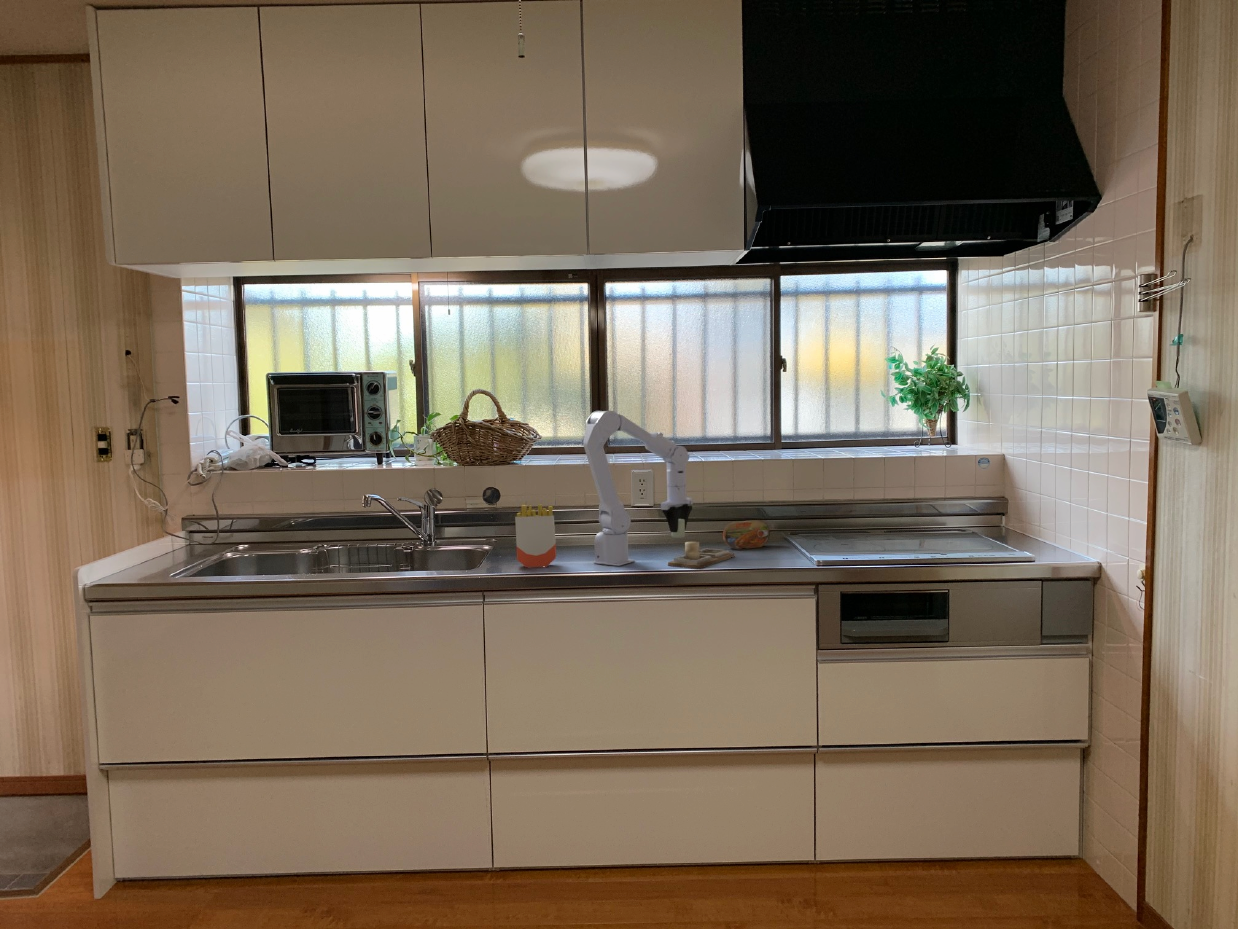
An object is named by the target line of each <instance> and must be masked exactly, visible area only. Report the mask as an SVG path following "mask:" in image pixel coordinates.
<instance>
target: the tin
mask: <svg viewBox="0 0 1238 929" xmlns="http://www.w3.org/2000/svg"><path fill="white" fill-rule="evenodd" d="M770 538H771V530H770V527H769V525H768V524H767V523H766V522H765V521H763V520H760V519H757V520H756V519H755V520H754V519H753V520H745V521H735V522H734V521H733V522H730V523H728V524H727V525H726V526H725V527H724V529H723V532H722V540H723V542H724V544H725V545H726V546H727V547H728V548H731V549H733V550H743V549H742V548H746V549H752V548H753V549H755V548H762V547H764V546H765V545H767V543H768V542H769V540H770Z"/></svg>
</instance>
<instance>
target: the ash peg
mask: <svg viewBox="0 0 1238 929" xmlns="http://www.w3.org/2000/svg"><path fill="white" fill-rule="evenodd" d="M700 550H701V549H700V542H699V541H686V542H684V553H685V554H684V555H685V557H686V559H691V560H698V559H700Z"/></svg>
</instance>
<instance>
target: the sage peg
mask: <svg viewBox="0 0 1238 929" xmlns="http://www.w3.org/2000/svg"><path fill="white" fill-rule="evenodd" d="M670 534H671V538H676V539H677V538H685V536H686V530H685V521H684V519H679V520H678V531H677V532H670Z"/></svg>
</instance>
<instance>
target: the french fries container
mask: <svg viewBox="0 0 1238 929" xmlns="http://www.w3.org/2000/svg"><path fill="white" fill-rule="evenodd" d="M527 506H528V505H527V504H526V505H525V504H523V505H521V512H518V513H516V516H515V517H514V518H515V519H514V520H515V540H516V541H515V542H516V560H517V562H519V563H521V565H523V566H524V567H525V568H526V567H543V566H545V568H547V567H548V566H549V565H550V564H551V563H553V562H554V560H555V559H556V558H557V547H556V546H557V545H556V544H557V543H556V540H557V539H556V526H555V514H553V510H554V508H553V505H551V506H549V505H548V510H547V508H546V507H545V508H544V507H543V504H538V505H537V514H536V509H533V508H532V505H531V504H530V505H529V506H528V507H527ZM527 509H528V510H527Z"/></svg>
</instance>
